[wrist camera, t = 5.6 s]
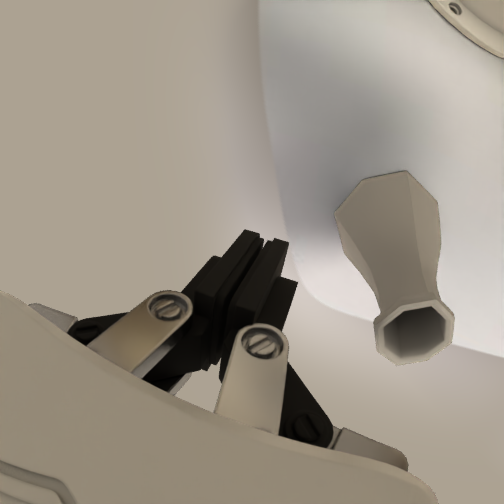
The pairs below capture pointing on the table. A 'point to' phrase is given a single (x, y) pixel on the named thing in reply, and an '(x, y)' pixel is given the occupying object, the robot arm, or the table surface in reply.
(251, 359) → the robot arm
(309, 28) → the table surface
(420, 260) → the flask
